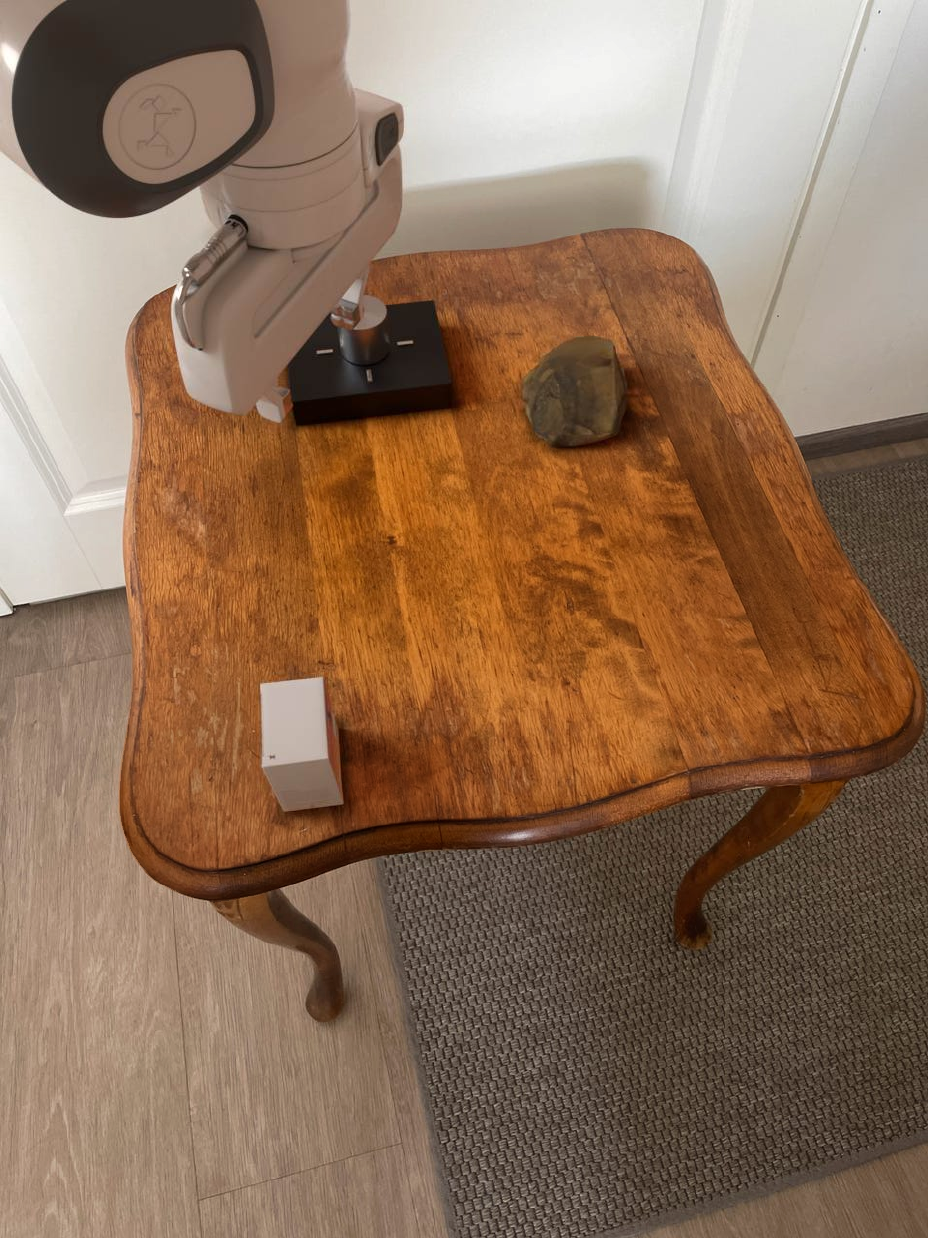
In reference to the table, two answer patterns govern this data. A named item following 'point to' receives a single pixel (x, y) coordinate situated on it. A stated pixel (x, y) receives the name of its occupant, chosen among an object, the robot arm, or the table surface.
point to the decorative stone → (576, 393)
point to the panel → (373, 371)
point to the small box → (300, 744)
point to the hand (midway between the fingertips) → (313, 366)
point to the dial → (367, 335)
